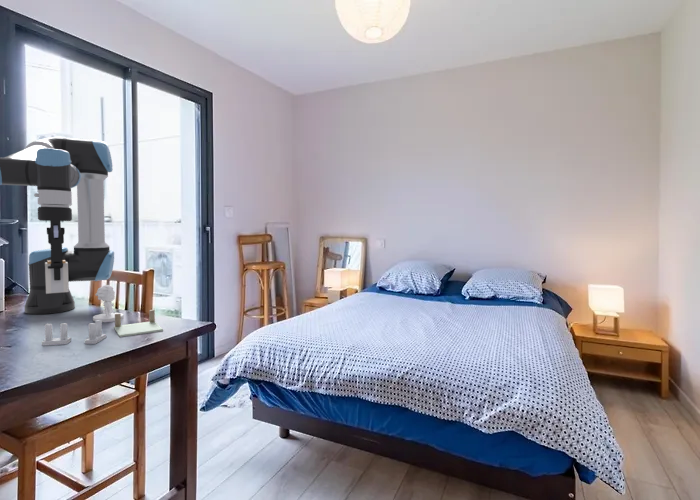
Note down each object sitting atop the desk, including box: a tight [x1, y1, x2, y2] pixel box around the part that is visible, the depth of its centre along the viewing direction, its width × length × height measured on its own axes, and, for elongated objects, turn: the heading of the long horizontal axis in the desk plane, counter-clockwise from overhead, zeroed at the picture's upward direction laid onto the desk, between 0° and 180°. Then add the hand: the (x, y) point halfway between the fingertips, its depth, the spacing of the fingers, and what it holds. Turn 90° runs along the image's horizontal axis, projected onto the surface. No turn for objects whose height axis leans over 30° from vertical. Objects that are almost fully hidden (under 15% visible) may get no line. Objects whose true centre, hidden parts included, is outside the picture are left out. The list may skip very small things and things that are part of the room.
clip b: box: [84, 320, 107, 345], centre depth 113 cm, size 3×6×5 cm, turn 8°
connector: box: [45, 260, 70, 294], centre depth 109 cm, size 5×5×9 cm
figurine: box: [92, 284, 125, 323], centre depth 137 cm, size 9×9×12 cm
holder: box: [113, 309, 164, 338], centre depth 125 cm, size 12×12×5 cm
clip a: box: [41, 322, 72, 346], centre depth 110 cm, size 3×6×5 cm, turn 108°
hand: (57, 290), depth 109 cm, fingers closed on connector, 5 cm apart
